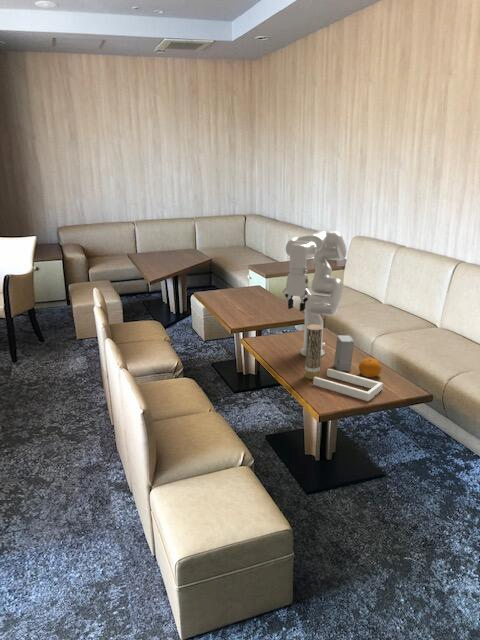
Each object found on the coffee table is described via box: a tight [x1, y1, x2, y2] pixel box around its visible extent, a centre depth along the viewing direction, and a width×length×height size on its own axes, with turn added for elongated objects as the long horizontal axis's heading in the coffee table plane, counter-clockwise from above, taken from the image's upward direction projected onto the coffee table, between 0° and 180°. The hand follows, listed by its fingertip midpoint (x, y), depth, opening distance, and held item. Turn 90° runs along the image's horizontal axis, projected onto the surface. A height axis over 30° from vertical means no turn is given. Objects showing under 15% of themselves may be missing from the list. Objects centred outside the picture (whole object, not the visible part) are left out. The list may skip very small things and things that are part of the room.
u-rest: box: [312, 368, 384, 402], centre depth 236 cm, size 14×27×4 cm, turn 52°
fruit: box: [358, 357, 382, 378], centre depth 249 cm, size 10×10×8 cm
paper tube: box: [304, 324, 323, 380], centre depth 244 cm, size 7×7×25 cm
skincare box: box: [333, 334, 355, 372], centre depth 256 cm, size 8×7×16 cm
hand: (296, 309), depth 244 cm, fingers open, 5 cm apart
